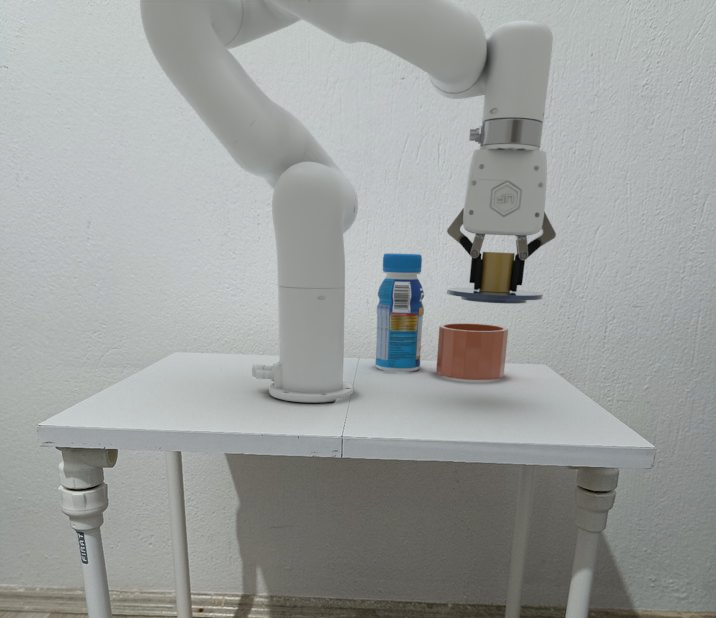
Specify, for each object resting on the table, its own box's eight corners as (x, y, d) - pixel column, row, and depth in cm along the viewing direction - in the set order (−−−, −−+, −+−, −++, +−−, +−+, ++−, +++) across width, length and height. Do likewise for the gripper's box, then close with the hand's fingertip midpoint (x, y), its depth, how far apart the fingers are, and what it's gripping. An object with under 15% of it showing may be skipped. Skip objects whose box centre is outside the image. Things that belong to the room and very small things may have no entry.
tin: (435, 381, 112) (438, 329, 109) (437, 368, 123) (440, 322, 120) (505, 384, 110) (510, 332, 107) (500, 372, 121) (505, 324, 118)
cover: (445, 301, 85) (449, 250, 83) (447, 294, 97) (450, 249, 95) (547, 307, 84) (554, 255, 81) (536, 299, 95) (542, 253, 93)
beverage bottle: (365, 368, 121) (368, 253, 115) (393, 363, 127) (398, 253, 121) (402, 374, 116) (407, 254, 109) (429, 369, 122) (436, 254, 115)
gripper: (443, 134, 81) (431, 288, 87) (584, 137, 79) (562, 295, 85) (444, 142, 88) (433, 285, 94) (574, 145, 86) (554, 291, 92)
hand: (494, 288), depth 90 cm, fingers closed on cover, 4 cm apart
